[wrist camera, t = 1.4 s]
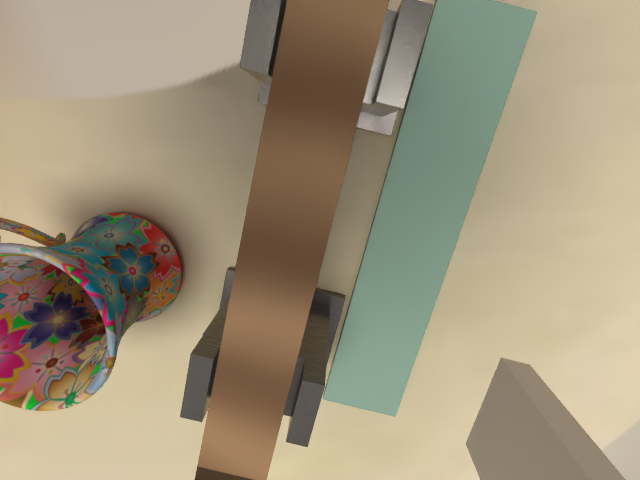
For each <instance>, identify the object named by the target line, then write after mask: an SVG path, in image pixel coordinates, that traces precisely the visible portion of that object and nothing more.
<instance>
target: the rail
mask: <svg viewBox="0 0 640 480" xmlns="http://www.w3.org/2000/svg"><path fill="white" fill-rule="evenodd" d="M388 3H389V0H287V4H286V9H285V14H284V19H283V24H282V30H281V35H280V40H279V45H278V50H277V56H276V61H275V66H274V71H273V76H272V82H271V87H270V92H269V97H268V102H267V108H266V113H265V118H264V123H263V128H262V134H261V139H260V144H259V149H258V154H257V160H256V165H255V170H254V175H253V180H252V186H251V191H250V196H249V201H248V206H247V212H246V217H245V222H244V227H243V232H242V237H241V243H240V248H239V253H238V258H237V263H236V269H235V274H234V279H233V284H232V289H231V295H230V300H229V305H228V310H227V315H226V321H225V326H224V331H223V336H222V341H221V347H220V352H219V357H218V362H217V367H216V373H215V378H214V383H213V388H212V393H211V399H210V404H209V409H208V414H207V419H206V425H205V430H204V435H203V440H202V445H201V451H200V456H199V461H198V466H197V471H196V476H195V480H266V479H267V475H268V472H269V468H270V464H271V460H272V456H273V452H274V448H275V444H276V440H277V436H278V432H279V429H280V425H281V421H282V417H283V413H284V409H285V405H286V401H287V397H288V393H289V389H290V386H291V382H292V378H293V374H294V370H295V366H296V362H297V358H298V354H299V350H300V346H301V343H302V339H303V335H304V331H305V327H306V323H307V319H308V315H309V311H310V307H311V304H312V300H313V296H314V292H315V288H316V284H317V280H318V276H319V272H320V268H321V264H322V261H323V257H324V253H325V249H326V245H327V241H328V237H329V233H330V229H331V225H332V221H333V218H334V214H335V210H336V206H337V202H338V198H339V194H340V190H341V186H342V182H343V178H344V175H345V171H346V167H347V163H348V159H349V155H350V151H351V147H352V143H353V139H354V135H355V132H356V128H357V124H358V120H359V116H360V112H361V108H362V104H363V100H364V96H365V92H366V89H367V85H368V81H369V77H370V73H371V69H372V65H373V61H374V57H375V53H376V49H377V46H378V42H379V38H380V34H381V30H382V26H383V22H384V18H385V14H386V10H387V6H388Z"/></svg>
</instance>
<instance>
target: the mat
mask: <svg viewBox="0 0 640 480" xmlns="http://www.w3.org/2000/svg"><path fill="white" fill-rule="evenodd" d="M536 14H537V12H536V11H532V10H528V9H524V8H520V7H516V6H512V5H509V4H505V3H501V2H497V1H493V0H436V2H435V6H434V9H433V13H432V16H431V20H430V23H429V27H428V30H427V34H426V37H425V41H424V44H423V48H422V51H421V55H420V58H419V62H418V65H417V69H416V72H415V76H414V79H413V83H412V86H411V90H410V93H409V97H408V100H407V104H406V107H405V111H404V114H403V118H402V122H401V125H400V129H399V132H398V136H397V139H396V143H395V146H394V150H393V153H392V157H391V160H390V164H389V167H388V171H387V174H386V178H385V181H384V185H383V188H382V192H381V195H380V199H379V202H378V206H377V209H376V213H375V216H374V220H373V223H372V227H371V230H370V234H369V237H368V241H367V244H366V248H365V251H364V255H363V258H362V262H361V265H360V269H359V272H358V276H357V279H356V283H355V286H354V290H353V293H352V297H351V300H350V304H349V307H348V311H347V314H346V318H345V321H344V325H343V328H342V332H341V335H340V339H339V342H338V346H337V349H336V353H335V357H334V360H333V364H332V367H331V371H330V374H329V378H328V381H327V385H326V388H325V392H324V395H323V400H327V401H331V402H336V403H340V404H344V405H348V406H352V407H357V408H361V409H365V410H369V411H373V412H378V413H382V414H386V415H390V416H394V417H395V416H396V413H397V410H398V407H399V405H400V402H401V399H402V396H403V393H404V390H405V387H406V385H407V382H408V379H409V376H410V373H411V370H412V367H413V365H414V362H415V359H416V356H417V353H418V350H419V347H420V345H421V342H422V339H423V336H424V333H425V330H426V328H427V325H428V322H429V319H430V316H431V313H432V310H433V308H434V305H435V302H436V299H437V296H438V293H439V290H440V288H441V285H442V282H443V279H444V276H445V273H446V270H447V268H448V265H449V262H450V259H451V256H452V253H453V250H454V248H455V245H456V242H457V239H458V236H459V233H460V231H461V228H462V225H463V222H464V219H465V216H466V213H467V211H468V208H469V205H470V202H471V199H472V196H473V193H474V191H475V188H476V185H477V182H478V179H479V176H480V173H481V171H482V168H483V165H484V162H485V159H486V156H487V153H488V151H489V148H490V145H491V142H492V139H493V136H494V134H495V131H496V128H497V125H498V122H499V119H500V116H501V114H502V111H503V108H504V105H505V102H506V99H507V96H508V94H509V91H510V88H511V85H512V82H513V79H514V76H515V74H516V71H517V68H518V65H519V62H520V59H521V56H522V54H523V51H524V48H525V45H526V42H527V39H528V37H529V34H530V31H531V28H532V25H533V22H534V19H535V17H536Z"/></svg>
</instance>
